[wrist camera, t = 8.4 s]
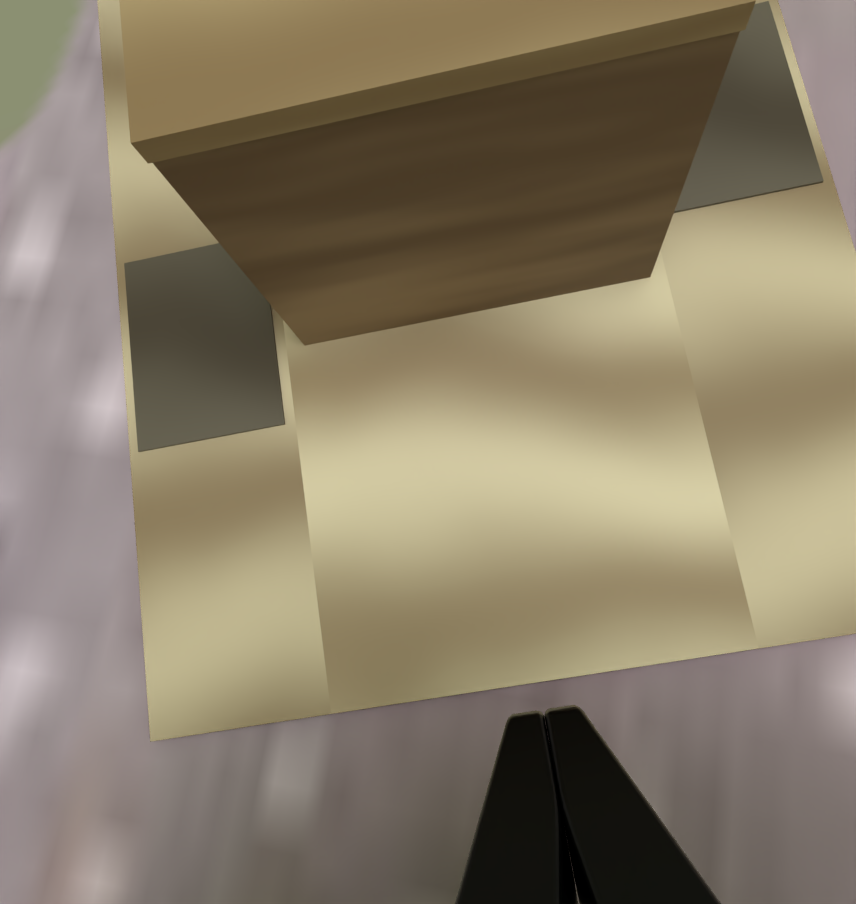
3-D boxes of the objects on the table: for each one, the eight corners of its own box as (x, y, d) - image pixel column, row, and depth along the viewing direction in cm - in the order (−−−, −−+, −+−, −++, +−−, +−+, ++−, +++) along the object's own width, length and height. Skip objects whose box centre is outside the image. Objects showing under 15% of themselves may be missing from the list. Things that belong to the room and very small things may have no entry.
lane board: (956, 616, 19) (1065, 617, 15) (158, 738, 21) (75, 766, 17) (708, -197, 25) (741, -346, 21) (101, -44, 27) (29, -155, 23)
